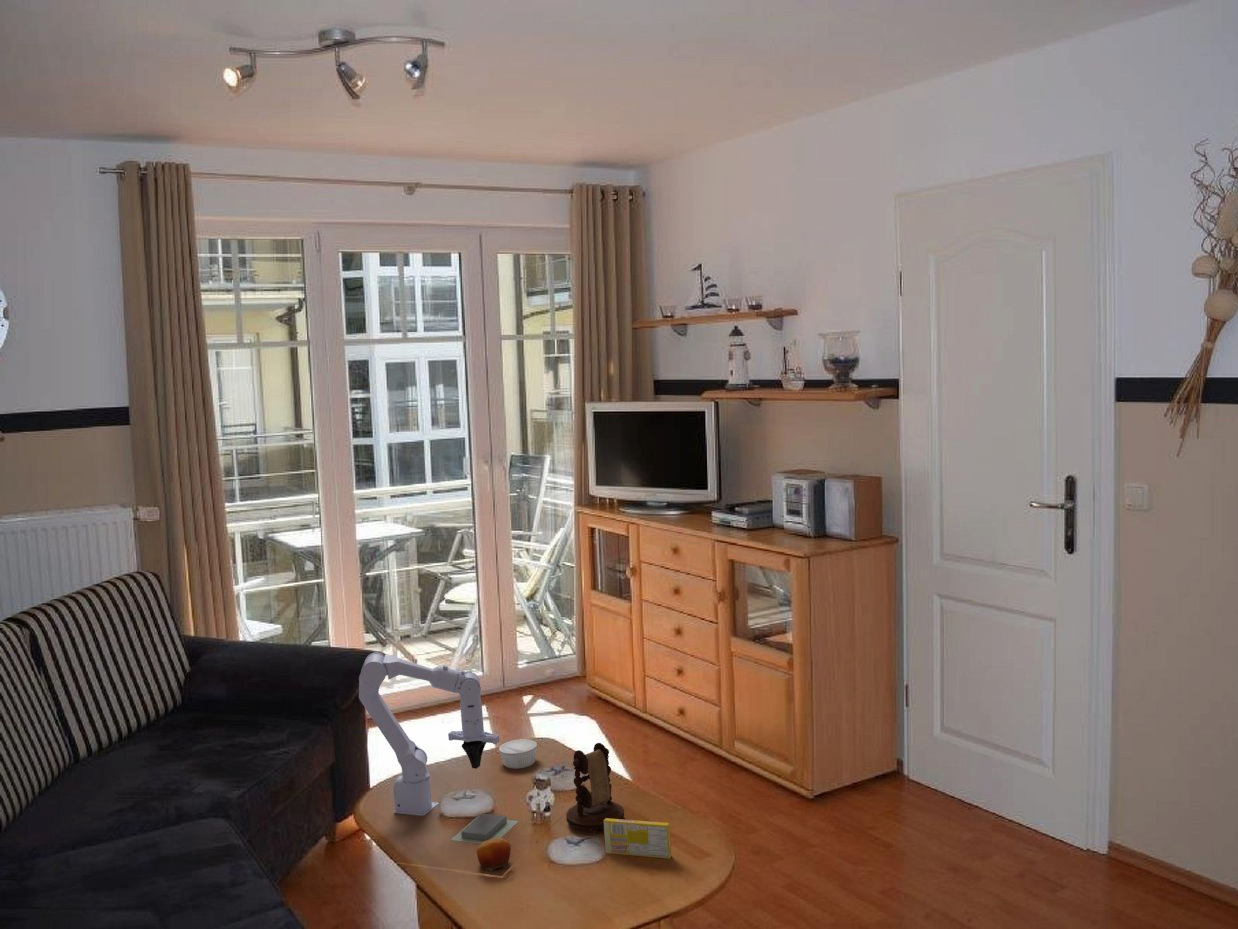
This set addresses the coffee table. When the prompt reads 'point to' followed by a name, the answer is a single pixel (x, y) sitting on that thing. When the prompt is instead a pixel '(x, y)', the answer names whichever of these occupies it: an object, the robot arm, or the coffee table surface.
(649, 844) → the candy box
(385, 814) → the coffee table surface
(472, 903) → the coffee table surface
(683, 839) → the coffee table surface
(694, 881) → the coffee table surface
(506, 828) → the felt mat
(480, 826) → the slate tile
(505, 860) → the fruit
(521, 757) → the ramekin
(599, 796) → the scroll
